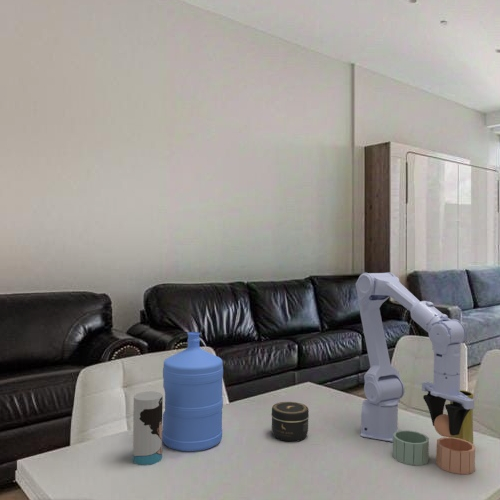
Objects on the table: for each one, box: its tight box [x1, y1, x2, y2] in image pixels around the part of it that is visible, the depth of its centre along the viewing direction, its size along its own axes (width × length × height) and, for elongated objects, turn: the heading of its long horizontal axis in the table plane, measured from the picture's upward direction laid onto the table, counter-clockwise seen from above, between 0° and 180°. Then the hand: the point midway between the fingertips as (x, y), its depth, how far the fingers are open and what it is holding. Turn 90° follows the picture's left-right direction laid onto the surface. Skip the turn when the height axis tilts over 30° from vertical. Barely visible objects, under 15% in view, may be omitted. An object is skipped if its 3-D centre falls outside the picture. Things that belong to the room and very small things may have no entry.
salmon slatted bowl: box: [435, 436, 476, 475], centre depth 112 cm, size 8×8×5 cm
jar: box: [271, 401, 310, 443], centre depth 129 cm, size 10×10×8 cm
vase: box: [449, 389, 474, 445], centre depth 122 cm, size 6×6×14 cm
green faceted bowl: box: [392, 429, 430, 466], centre depth 116 cm, size 8×8×5 cm
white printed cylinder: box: [132, 390, 164, 466], centre depth 114 cm, size 7×7×15 cm
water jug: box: [162, 331, 224, 452], centre depth 125 cm, size 16×16×28 cm
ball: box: [433, 413, 452, 437], centre depth 112 cm, size 5×5×5 cm
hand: (445, 429), depth 112 cm, fingers closed on ball, 5 cm apart
